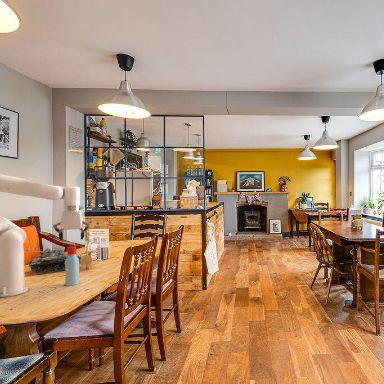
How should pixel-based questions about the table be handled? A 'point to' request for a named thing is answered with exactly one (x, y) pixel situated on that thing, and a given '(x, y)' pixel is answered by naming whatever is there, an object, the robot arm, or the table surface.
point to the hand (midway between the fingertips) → (71, 239)
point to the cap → (71, 250)
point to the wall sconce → (87, 254)
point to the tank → (49, 261)
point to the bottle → (72, 270)
